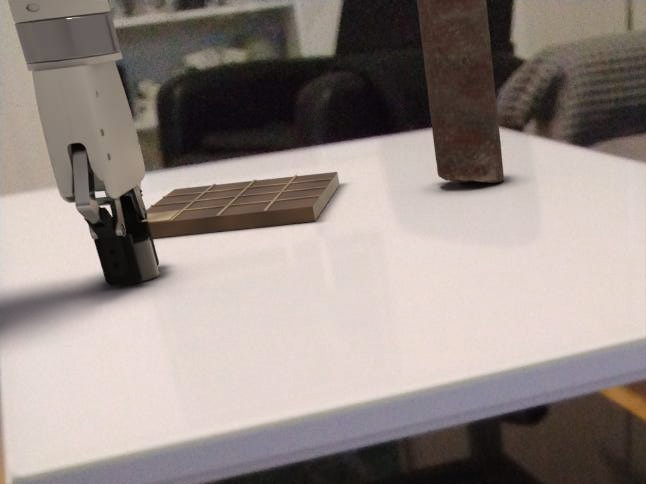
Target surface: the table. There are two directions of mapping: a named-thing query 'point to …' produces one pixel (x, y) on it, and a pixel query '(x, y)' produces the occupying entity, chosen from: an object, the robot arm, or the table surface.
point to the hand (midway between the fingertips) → (133, 273)
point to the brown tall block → (461, 90)
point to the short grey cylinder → (145, 256)
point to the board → (242, 205)
